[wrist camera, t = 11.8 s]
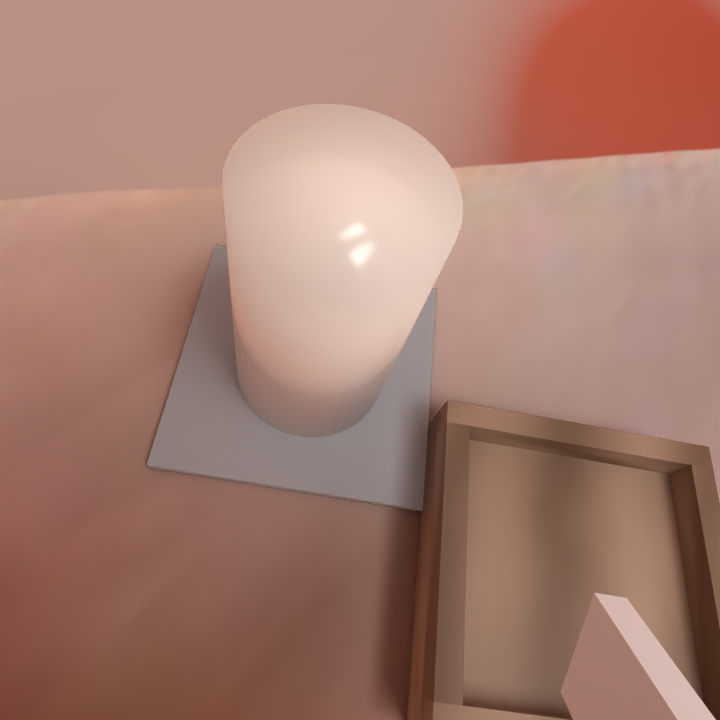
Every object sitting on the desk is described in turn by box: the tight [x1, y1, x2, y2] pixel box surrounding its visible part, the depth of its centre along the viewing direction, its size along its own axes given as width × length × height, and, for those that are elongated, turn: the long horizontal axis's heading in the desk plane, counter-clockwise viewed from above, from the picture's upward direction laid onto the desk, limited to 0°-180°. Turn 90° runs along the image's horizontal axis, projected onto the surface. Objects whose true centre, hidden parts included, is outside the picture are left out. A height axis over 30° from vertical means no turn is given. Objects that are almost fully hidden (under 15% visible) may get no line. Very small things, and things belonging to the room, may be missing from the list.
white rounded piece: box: [222, 104, 463, 437], centre depth 22 cm, size 7×10×12 cm
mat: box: [147, 245, 437, 512], centre depth 27 cm, size 12×12×1 cm
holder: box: [407, 400, 720, 720], centre depth 23 cm, size 12×12×4 cm
